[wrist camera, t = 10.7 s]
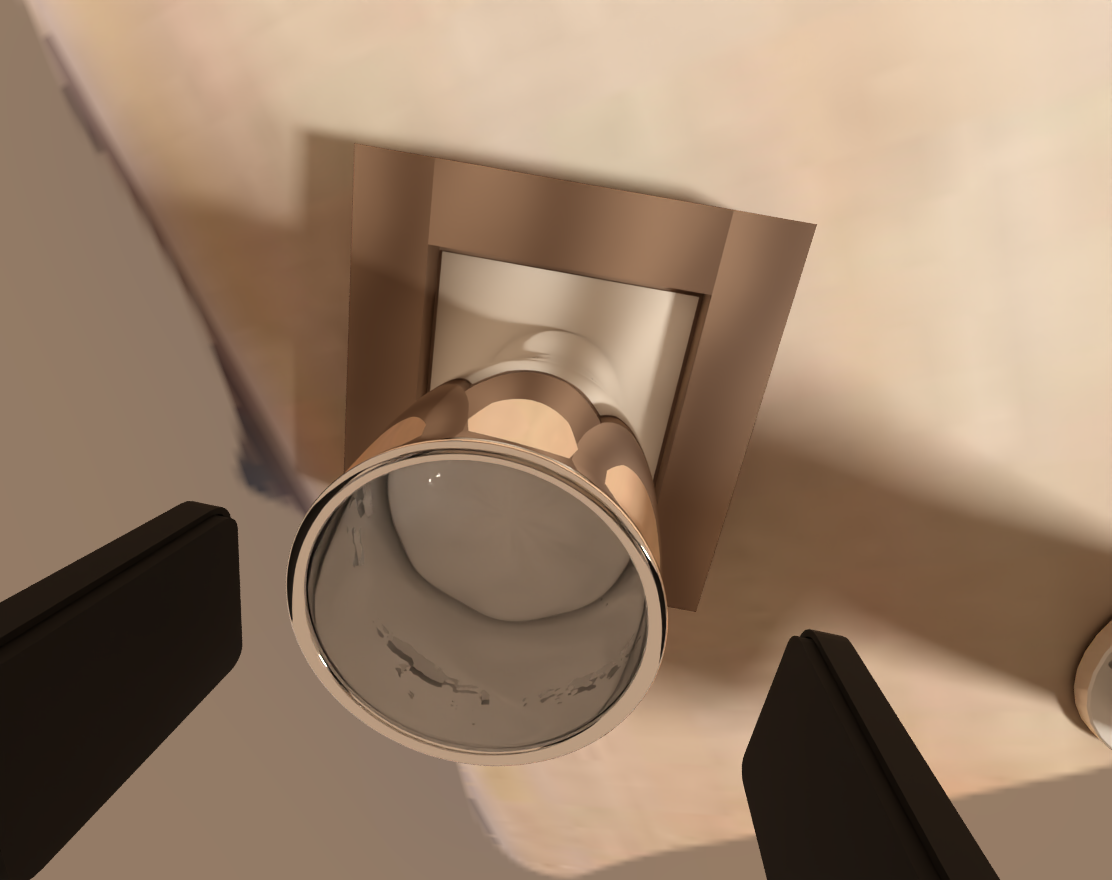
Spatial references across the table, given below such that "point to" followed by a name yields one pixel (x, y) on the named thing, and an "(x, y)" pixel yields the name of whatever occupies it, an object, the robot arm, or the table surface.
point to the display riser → (575, 313)
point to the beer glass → (490, 564)
